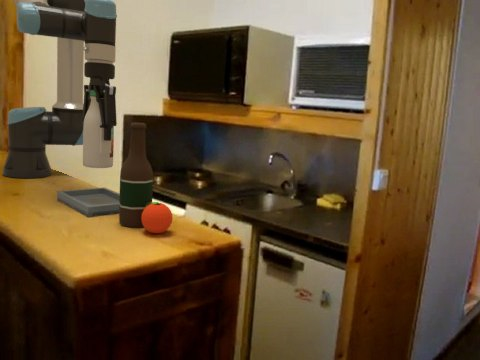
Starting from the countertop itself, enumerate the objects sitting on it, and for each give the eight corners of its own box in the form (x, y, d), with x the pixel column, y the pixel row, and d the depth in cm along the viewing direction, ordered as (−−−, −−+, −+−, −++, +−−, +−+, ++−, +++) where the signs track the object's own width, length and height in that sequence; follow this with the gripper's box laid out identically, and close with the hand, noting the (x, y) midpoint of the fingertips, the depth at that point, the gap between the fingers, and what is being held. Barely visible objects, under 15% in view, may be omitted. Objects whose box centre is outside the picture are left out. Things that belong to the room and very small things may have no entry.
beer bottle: (140, 217, 113) (143, 121, 109) (158, 225, 107) (162, 124, 103) (112, 221, 107) (114, 121, 103) (129, 230, 102) (132, 124, 98)
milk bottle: (104, 169, 115) (105, 90, 112) (76, 166, 117) (77, 88, 113) (118, 166, 123) (120, 91, 119) (92, 163, 124) (93, 89, 121)
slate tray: (57, 200, 124) (57, 191, 124) (104, 195, 134) (104, 187, 133) (87, 217, 110) (88, 207, 109) (138, 210, 119) (139, 201, 119)
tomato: (131, 230, 102) (132, 200, 101) (155, 225, 107) (156, 196, 106) (154, 239, 97) (155, 207, 96) (178, 233, 102) (179, 203, 101)
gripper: (69, 61, 120) (68, 146, 124) (104, 60, 105) (102, 156, 109) (96, 64, 125) (94, 146, 129) (133, 63, 110) (130, 155, 114)
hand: (98, 150), depth 119 cm, fingers closed on milk bottle, 8 cm apart
